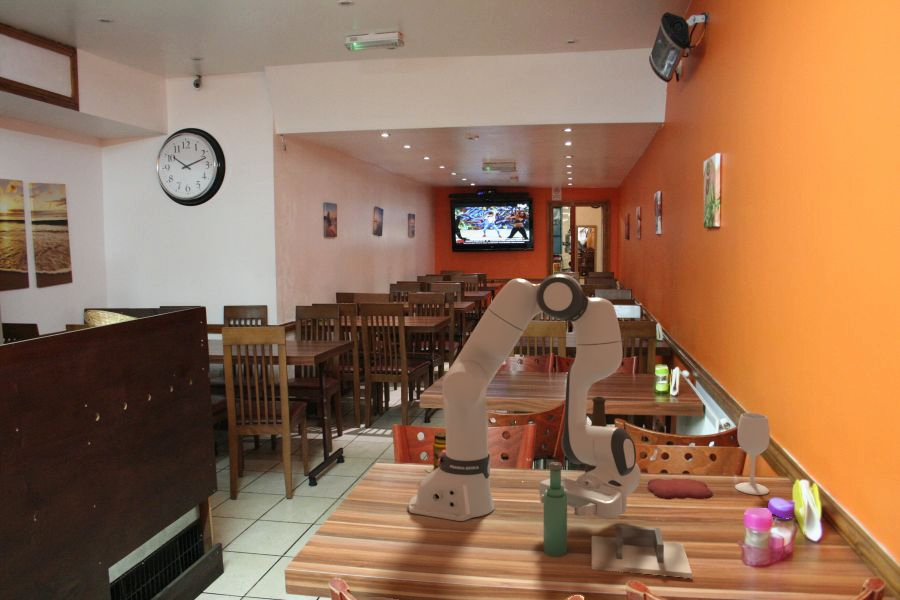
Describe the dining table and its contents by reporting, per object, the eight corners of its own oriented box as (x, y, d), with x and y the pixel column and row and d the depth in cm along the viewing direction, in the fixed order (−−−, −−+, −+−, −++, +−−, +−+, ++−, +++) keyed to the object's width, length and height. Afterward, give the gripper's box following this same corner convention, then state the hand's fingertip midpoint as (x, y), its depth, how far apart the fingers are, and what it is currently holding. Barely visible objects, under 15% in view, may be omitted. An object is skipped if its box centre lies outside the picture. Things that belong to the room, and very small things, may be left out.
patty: (654, 500, 176) (654, 493, 176) (641, 482, 190) (641, 475, 190) (719, 500, 176) (719, 493, 175) (701, 482, 189) (701, 476, 189)
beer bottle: (612, 482, 189) (613, 401, 187) (585, 481, 190) (585, 400, 189) (611, 473, 196) (612, 395, 195) (585, 472, 198) (585, 394, 196)
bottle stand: (591, 569, 137) (591, 545, 137) (591, 540, 151) (591, 519, 150) (691, 578, 133) (692, 554, 133) (682, 548, 147) (682, 526, 146)
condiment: (440, 478, 194) (440, 438, 193) (424, 470, 200) (424, 432, 200) (460, 473, 198) (459, 434, 197) (444, 466, 205) (443, 428, 204)
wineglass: (730, 484, 187) (731, 412, 185) (760, 484, 187) (762, 412, 185) (742, 495, 178) (744, 419, 177) (774, 495, 178) (777, 419, 176)
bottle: (542, 555, 144) (542, 466, 142) (544, 545, 149) (544, 459, 147) (566, 557, 143) (566, 468, 141) (567, 547, 148) (567, 460, 146)
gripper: (559, 467, 163) (523, 480, 153) (632, 488, 148) (598, 504, 139) (558, 491, 163) (523, 506, 154) (631, 515, 149) (597, 533, 139)
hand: (559, 505), depth 146 cm, fingers open, 8 cm apart
